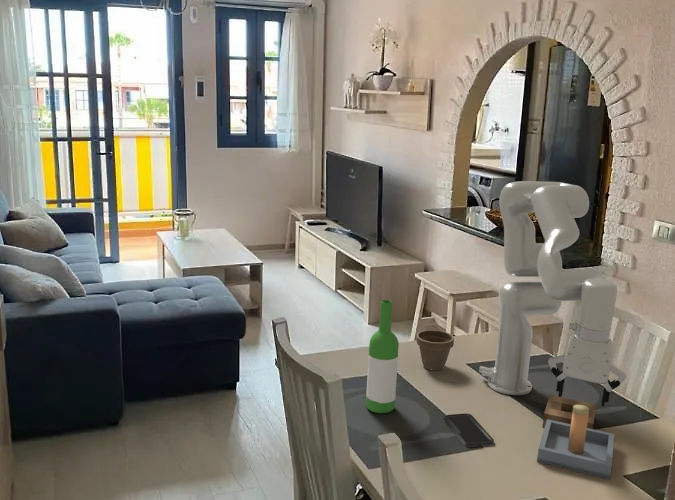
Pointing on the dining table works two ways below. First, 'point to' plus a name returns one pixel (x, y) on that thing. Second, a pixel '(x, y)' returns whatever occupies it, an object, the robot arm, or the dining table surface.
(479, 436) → the phone
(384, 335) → the wine bottle
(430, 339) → the flower pot
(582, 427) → the peg
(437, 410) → the dining table surface
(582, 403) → the pin block
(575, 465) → the tray
